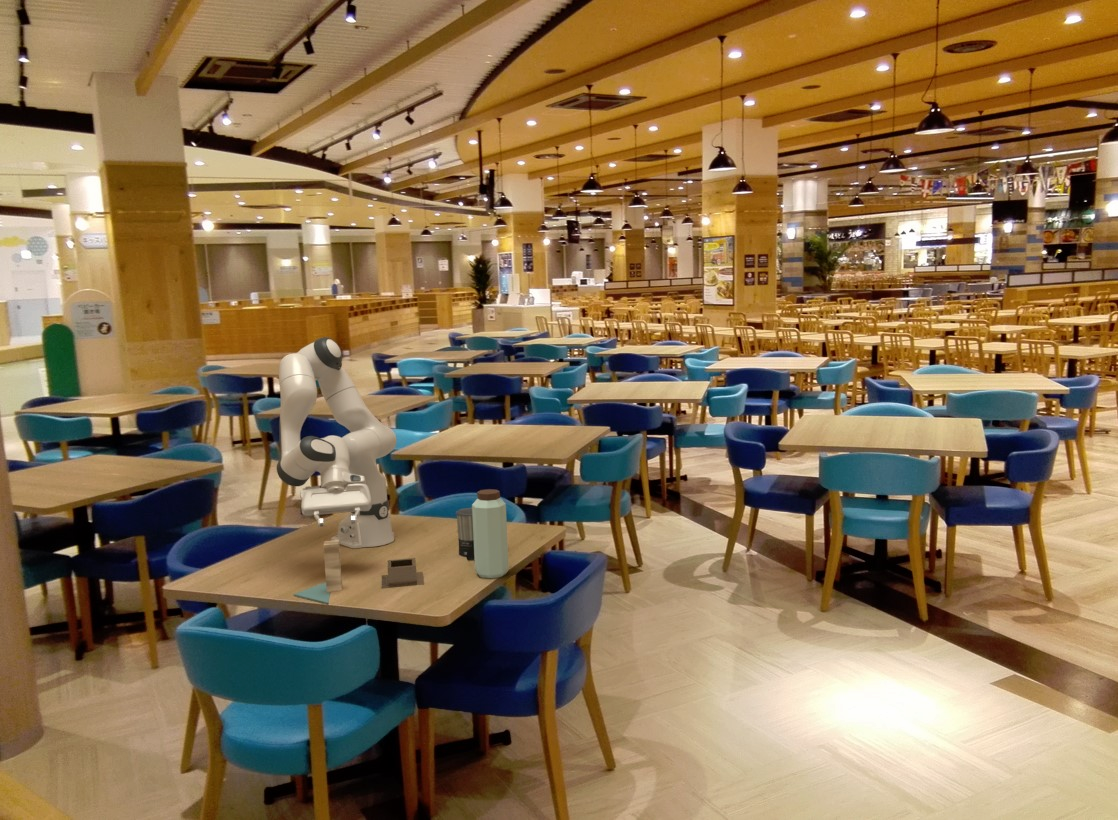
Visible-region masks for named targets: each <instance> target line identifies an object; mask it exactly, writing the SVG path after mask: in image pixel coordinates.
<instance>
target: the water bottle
mask: <svg viewBox="0 0 1118 820" xmlns="http://www.w3.org/2000/svg"><path fill="white" fill-rule="evenodd" d="M476 496H477V498H476V499H475V501H473V503H472V504H471V508H472V516H473V537H474V558H475V559H474V571H475V572H476V574H477V575H478V576H479V577H480V578H482V579H490V578H491V579H497V578H501V577H503V576H505V575H506V574H507V573H508V571H509V568H510V567H509V547H508V546H509V545H508V526H507V525H508V524H507V521H508V520H507V503H506V502H504V500H503V498H501V493H500V490H498V489H491V488H488V489H480V490H479V491H477V492H476Z"/></svg>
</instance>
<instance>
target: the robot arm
mask: <svg viewBox="0 0 1118 820" xmlns="http://www.w3.org/2000/svg"><path fill="white" fill-rule="evenodd" d="M342 352H343V351H342V349H341V347H340V346H339V344H338V343H337V342H336V341H335V340H333V338H330V337H329V336H328V337H327V336H324V337H320V338H318V339H315V340H314V342H311V343H309V344H307V345H305V346H303V347H302V348H300V350H299V351H297V352H296V353H295V352H293V353H289V354H287V355H285V356H283V357H282V359H281V360H280V362H279V365H278V366H279V367H278V384H279V393H280V410H279V422H278V424H279V425H278V427H279V428H278V432H279V433H278V434H279V435H278V436H279V459H278V461H277V464H276V473H277V475H278V477H279V479H280V480H281V481H282V482H283V483H284V484H285V485H288V486H291V487H302V486H304V485H305V484H306V483H307V481H309V479H310V478H311V476H312V475H314V474H315V473H316V472H318V473H319V474H320V485H312V486H305V487H304V488H302V489H301V490H300V492H299V496H300V499H301V504H300V505H301V506H300V509H301V513H302V515H303V516H306V517H308V516H314V517H313V518H314V519H315V520H316V522H317V525H318V527H324V518H321V517H320V516H321V515H330V514H342V513H348V514H347V515H346V516H345V517H344V518H343V519H342V520H341V521H340V522H339V523H338V527H337V534H336V535H333V536H332V537H331V539H330V541H334V540H339V545H341V546H345V547H348V548H350V549H359V548H372V547H373V548H374V547H378V546H380V547H381V546H385V545H387V544H390V543H391V544H392V543H393V542H394V540H395V532H394V531H393V527H392V521H391V515H390V513H389V510H390V502H389V499H388V495H387V493H388V492H387V491H388V490H387V479H386V476H385V475H384V474H383V473H381V472H380V470H379V469H378V468H379V467H378V466H377V459H381V458H384V457H386V456H387V455H388V454H390V453H392V452H393V451H394V450H395V448H396V446H397V436H396V435H397V434H396V433H395V432H394V431H393V429H391V428H390V427H389V426H386V425H384V424H383V423H382V422H381V421H380V420H379V419H378V418H377V417H376V416H375V414H373V413H372V411H370V409H369V408H368V406H367V405H366V404H365V402H364V400H363V398H362V396H361V394H360V392H359V390H358V388H357V386H356V384H355V383H354V381H353V379H352V378H351V376H350V375H349V373H348V372H347V371H346V369H345V368H344V367H343V354H342ZM316 381H317V383H318V386H319V389H320V391H321V394H322V396H323V398H324V401H325V402H326V404H327V406H328V408H329V410H330V412H331V414H332V416H333V418H334V420H335V421H336V423H338V424H339V425H341V426H343V427H345V428H346V429H347V430H348V431H349V433H346V434H345V435H344V436H342V437H341V436H338V435H333V434H332V435H327V436H324V437H321V438H320V437H318V436H314V435H307V436H305V437H303V438H302V439H301V431H302V427H303V425H304V423H305V421H306V420H307V417H308V416H309V414H310V413H311V411H312V410H313V408H314V407H315V405H316V402H317V397H318V388H317V383H316Z"/></svg>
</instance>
